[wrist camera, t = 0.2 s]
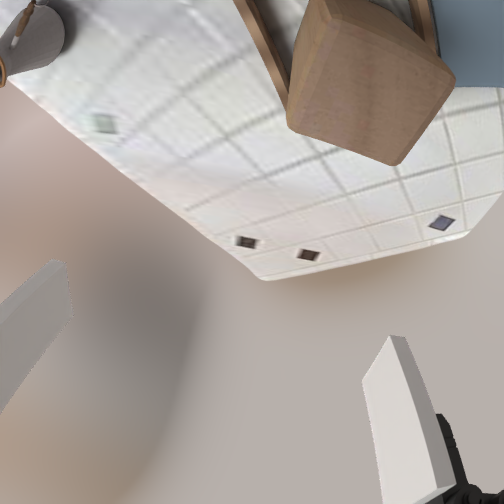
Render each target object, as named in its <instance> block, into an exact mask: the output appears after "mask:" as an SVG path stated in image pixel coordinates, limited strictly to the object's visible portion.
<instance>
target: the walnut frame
mask: <svg viewBox="0 0 504 504" xmlns="http://www.w3.org/2000/svg"><path fill="white" fill-rule="evenodd" d="M233 2H234V3H235V5H236V7H237V9H238V11H239V13H240V15H241V17H242V19H243V21H244V23H245V24H246V26H247V28H248V30H249V32H250V34H251V36H252V38H253V40H254V43H255V45H256V47H257V49H258V51H259V53H260V55H261V57H262V59H263V61H264V63H265V66H266V68H267V70H268V72H269V74H270V77H271V79H272V81H273V83H274V85H275V88H276V90H277V92H278V95H279V97H280V99H281V101H282V104H283V106H284V108H285V111H286V112H287V104H288V95H289V87H290V80H289V77H288V75H287V72H286V70H285V68H284V65H283V63H282V61H281V58H280V56H279V54H278V51H277V49H276V47H275V45H274V42H273V40H272V38H271V36H270V34H269V32H268V29H267V27H266V25H265V23H264V21H263V19H262V17H261V15H260V13H259V11H258V9H257V7H256V5H255V3H254V1H253V0H233ZM408 2H409V6H410V10H411V14H412V19H413V24H414V29H415V33H416V34H417V35H418V36H419V37H420V38H421V39H422V40H423V41H424V42H425V43H426V44H427V45H428V46H429V47H430V48H431V49H432V50H433V51H434V52H435V53H436V48H435V41H434V34H433V28H432V22H431V17H430V11H429V7H428V2H427V0H408Z"/></svg>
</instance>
